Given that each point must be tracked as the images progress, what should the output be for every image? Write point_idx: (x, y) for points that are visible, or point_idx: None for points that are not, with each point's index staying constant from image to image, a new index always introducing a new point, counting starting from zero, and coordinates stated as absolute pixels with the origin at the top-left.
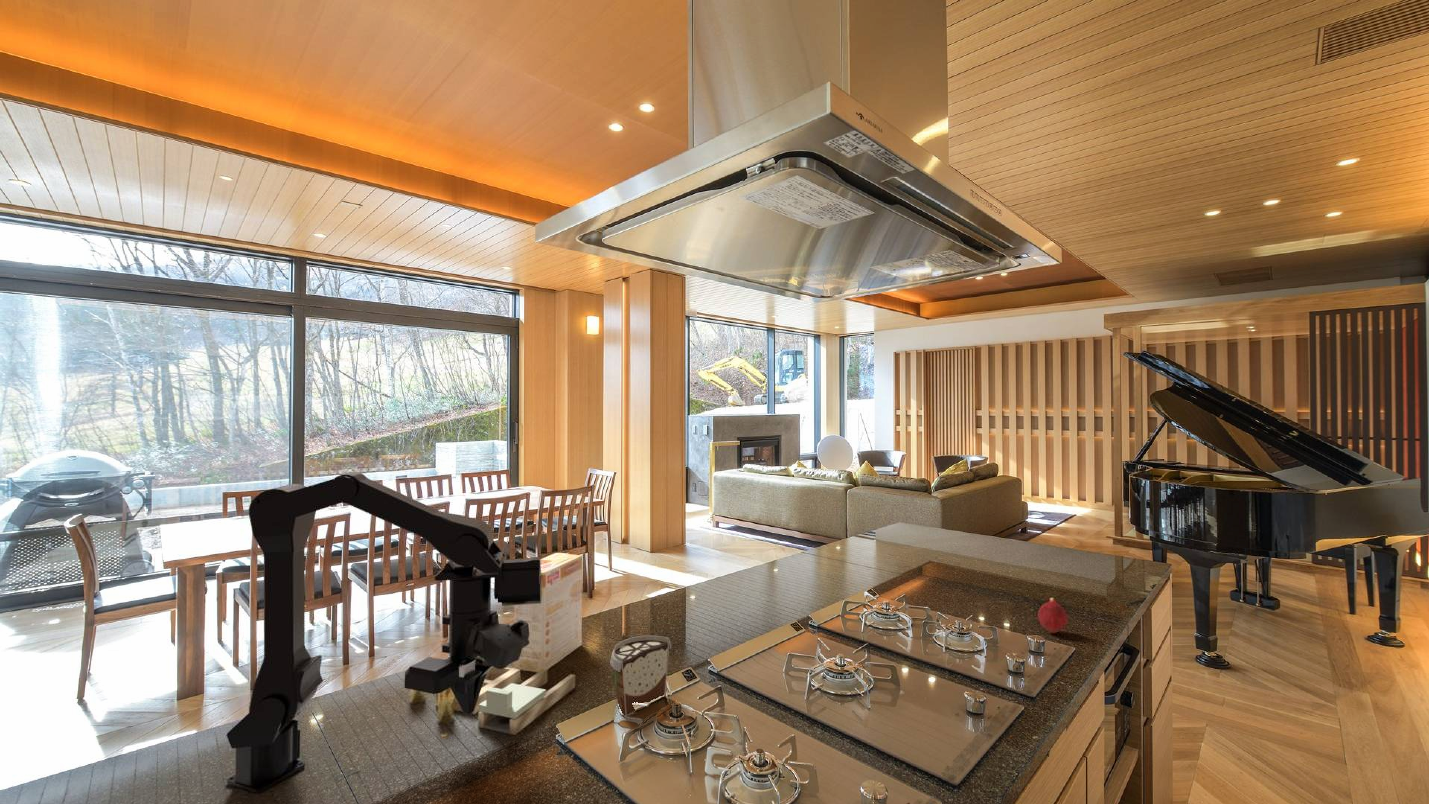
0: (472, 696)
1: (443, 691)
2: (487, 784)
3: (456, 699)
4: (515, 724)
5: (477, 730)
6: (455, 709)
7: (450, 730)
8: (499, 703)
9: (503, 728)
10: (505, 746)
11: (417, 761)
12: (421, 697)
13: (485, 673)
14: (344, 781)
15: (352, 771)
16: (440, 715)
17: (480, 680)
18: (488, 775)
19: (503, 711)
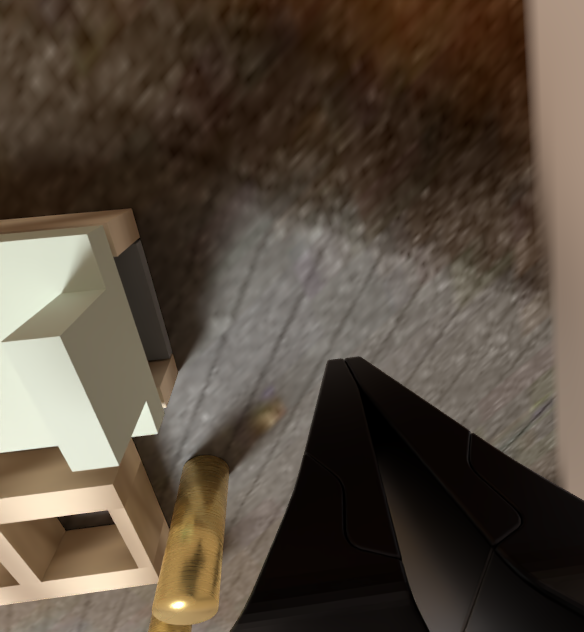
0: (405, 422)
1: (214, 573)
2: (475, 22)
3: (142, 520)
4: (110, 218)
5: (195, 359)
6: (152, 491)
7: (241, 423)
8: (111, 351)
9: (141, 276)
10: (217, 179)
11: (407, 375)
12: None
13: (309, 615)
14: (517, 441)
15: None
16: (227, 490)
17: (371, 532)
18: (417, 76)
19: (117, 307)
